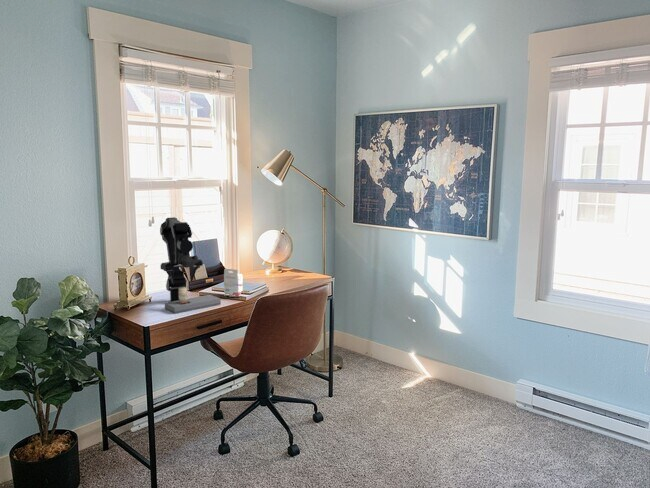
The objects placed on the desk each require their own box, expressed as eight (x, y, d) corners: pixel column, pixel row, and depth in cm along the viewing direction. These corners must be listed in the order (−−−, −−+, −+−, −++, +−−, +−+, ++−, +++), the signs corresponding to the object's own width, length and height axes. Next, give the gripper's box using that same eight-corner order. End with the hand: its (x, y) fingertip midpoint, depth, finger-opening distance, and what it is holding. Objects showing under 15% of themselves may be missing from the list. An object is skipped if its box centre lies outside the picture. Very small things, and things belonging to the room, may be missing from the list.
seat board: (164, 309, 247) (164, 303, 246) (210, 300, 263) (209, 294, 262) (174, 313, 239) (174, 307, 239) (220, 304, 255) (220, 298, 255)
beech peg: (180, 305, 250) (179, 286, 248) (189, 305, 249) (188, 287, 248) (177, 307, 246) (177, 289, 244) (186, 308, 245) (185, 289, 244)
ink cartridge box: (243, 296, 272) (243, 268, 270) (238, 298, 267) (237, 269, 265) (229, 294, 275) (228, 266, 273) (224, 296, 270) (223, 268, 268)
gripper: (170, 253, 231) (172, 288, 234) (208, 249, 244) (209, 282, 246) (159, 250, 239) (160, 284, 242) (196, 246, 252) (197, 278, 254)
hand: (182, 282), depth 246 cm, fingers open, 9 cm apart
